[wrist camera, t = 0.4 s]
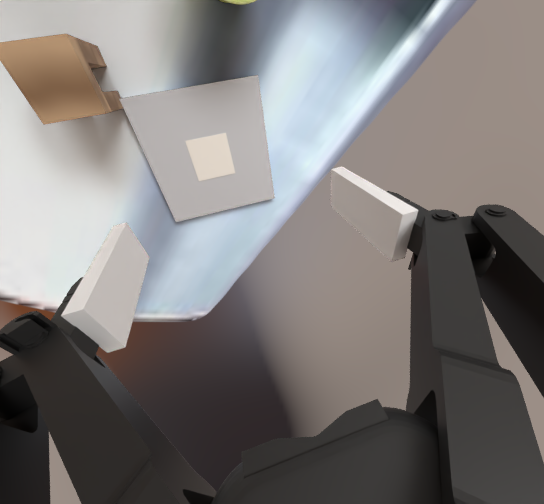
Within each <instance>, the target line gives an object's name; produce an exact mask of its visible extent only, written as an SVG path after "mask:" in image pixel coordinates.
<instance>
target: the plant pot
mask: <svg viewBox="0 0 544 504" xmlns="http://www.w3.org/2000/svg"><path fill="white" fill-rule="evenodd" d="M219 1H221V2H225V3H232V4H238V5H243V4H249V3H252V2H255V1H256V0H219Z"/></svg>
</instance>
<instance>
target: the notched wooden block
mask: <svg viewBox="0 0 544 504" xmlns="http://www.w3.org/2000/svg"><path fill="white" fill-rule="evenodd" d="M0 61H1V62H2V64H3V65H4V66H5V68H6V69H7V71H8V72H9V74H10V75H11V77H12V78H13V80H14V81H15V83H16V84H17V86H18V87H19V89H20V90H21V92H22V93H23V95H24V96H25V98H26V99H27V101H28V102H29V104H30V105H31V107H32V108H33V109H34V111H35V112H36V114H37V115H38V117H39V118H40V120H41V121H42V123H43V124H49V123H55V122H61V121H66V120H72V119H77V118H83V117H89V116H94V115H100V114H106V113H109V112H112V111H116V110H119V109H122V108H123V106H122V104H121V102H120V100H119V99H121V97H120V95H119V92H118V91H108V92H102V90H101V88H100V86H99V84H98V82H97V80H96V78H95V76H94V74H93V72H92V70H91V69H93V68H100V67H106V64H105V62H104V60H103V57H102V55H101V53H100V51H99V49H98V46H95V45H93V44H90V43H88V42H85V41H83V40H80V39H78V38H75V37H73V36H70V35H68V34H61V35H53V36H46V37H38V38H31V39H23V40H15V41H8V42H0Z"/></svg>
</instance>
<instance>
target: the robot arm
mask: <svg viewBox="0 0 544 504" xmlns="http://www.w3.org/2000/svg"><path fill="white" fill-rule="evenodd" d="M331 207H332V208H333V209H334V210H335V211H336V212H337V213H338V214H339V215H340V216H342V217H343V218H344V219H345V220H346V221H347V222H348V223H349V224H350V225H351V226H352V227H354V228H355V229H356V230H357V231H358V232H359V233H360V234H361V235H362V236H363V237H364V238H366V239H367V240H368V241H369V242H370V243H371V244H372V245H373V246H374V247H375V248H376V249H378V250H379V251H380V252H381V253H382V254H383V255H384V256H385V257H386V258H387V259H389V260H390V261H391V262H393V261H396V260H399V259H403V258H405V255H406V252H407V248H408V249H410V250H411V251H412V252H413V255H412V258H411V262H410V265H409V268H408V269H409V270H411V337H410V339H411V341H410V345H411V346H410V388H409V394H408V399H407V405H406V411H405V410H401V409H397V408H390V407H382V406H381V404H380V403H379V401H378V399H376V400H374V401H371V402H369V403H366V404H363V405H361V406H358V407H356V408H353V409H351V410H348V411H346V412H345V413H343V414H342V415H341V416H340V417H339V418H338V419H336V420H335V421H334V422H333V423H332V424H331V425H329V426H328V427H327V428H326V429H325V430H324V431H322V432H321V433H320V434H319V435H317V436H315V437H301V438H279V439H274V440H272V441H269V442H267V443H264V444H261V445H259V446H256V447H254V448H251V449H249V450H246V451H243V452H241V455H242V463H241V464H239V465H238V466H237V467H236V468H235V469H234V470H233V471H232V472H231V473H230V475H229V476H228V477H227V478H226V480H225V481H224V483H223V484H222V485H221V487H220V489H219V490H218V492H216V491H215V490H214V489H213V488H212V487H211V485H209V483H208V482H207V481H205V480H204V479H203V478H202V477H201V476H200V475H198V474H197V473H196V472H195V471H194V469H193V468H192V467H191V466H190V465H189V464H188V462H187V461H186V460H185V459H184V458H183V456H182V455H181V454H180V453H179V452H178V450H177V449H176V448H175V447H174V446H173V444H172V443H171V442H170V441H169V440H168V439H167V437H166V436H165V435H164V434H163V432H161V430H160V429H159V428H158V426H157V425H156V424H155V423H154V422H153V420H152V419H151V418H150V417H149V416H148V414H147V413H146V412H145V411H144V410H143V408H142V407H141V406H140V405H139V404H138V402H137V401H136V400H135V399H134V398H133V396H132V395H131V394H130V393H129V392H128V391H127V389H126V388H125V387H124V386H123V385H122V383H121V382H120V381H119V380H118V378H117V377H116V376H115V375H114V374H113V372H112V371H111V370H110V369H109V368H108V367H107V365H106V364H105V363H104V362H103V360H102V359H101V358H99V357H98V356H97V355H96V352H97V350H98V347H99V346H100V347H101V348H102V349H103V350H105V351H106V352H107V353H109V352H112V351H115V350H118V349H121V348H124V347H126V343H127V339H128V336H129V332H130V328H131V324H132V321H133V317H134V313H135V310H136V306H137V302H138V298H139V295H140V291H141V287H142V284H143V280H144V276H145V272H146V269H147V265H148V261H149V256H148V254H147V253H146V251H145V250H144V248H143V247H142V245H141V244H140V242H139V241H138V239H137V238H136V236H135V235H134V233H133V231H132V230H131V228H130V227H129V225H128V224H127V223H123V224H119V225H115V226H113V227H112V229H111V231H110V232H109V234H108V236H107V238H106V239H105V241H104V243H103V244H102V246H101V248H100V250H99V251H98V253H97V255H96V256H95V258H94V260H93V262H92V263H91V265H90V267H89V268H88V270H87V272H86V274H85V275H84V277H82V278H80V279H79V280H78V281H77V282H76V283H75V284H74V285H73V286H72V287H71V289H70V290H69V292H68V293H67V296H66V297H65V298H64V300H63V303H62V304H61V305H60V306H59V308H58V310H57V311H56V313H55V315H54V316H53V318H52V319H51V321H50V320H49V319H48V318H46V317H45V316H43V315H42V314H41V313H39V312H37V311H34V312H29V313H26V314H23V315H21V316H19V317H17V318H15V319H14V320H12V321H11V322H9V323H8V324H7V325H5V326H4V327H3V328H2V329H1V330H0V347H1V348H3V349H4V350H6V351H8V352H10V353H12V354H14V355H12V356H10V357H8V358H6V359H4V360H3V361H1V362H0V504H50V472H49V432H50V434H51V437H52V439H53V441H54V443H55V445H56V448H57V450H58V452H59V454H60V457H61V459H62V461H63V463H64V466H65V468H66V470H67V472H68V474H69V477H70V479H71V481H72V483H73V486H74V488H75V490H76V492H77V495H78V497H79V499H80V501H81V503H82V504H544V463H543V460H542V457H541V453H540V450H539V447H538V444H537V440H536V437H535V434H534V431H533V427H532V424H531V421H530V418H529V414H528V411H527V408H526V404H525V401H524V398H523V394H522V391H521V388H520V385H519V383H518V381H517V378H516V377H515V375H514V374H513V373H512V372H511V371H510V370H506V369H503V368H501V366H500V365H499V363H498V361H497V358H496V354H495V350H494V346H493V342H492V338H491V334H490V330H489V326H488V323H487V319H486V315H485V311H484V307H483V304H482V300H481V298H482V299H483V301H484V303H485V305H486V306H487V308H488V309H489V311H490V313H491V314H492V316H493V317H494V319H495V321H496V322H497V324H498V325H499V327H500V329H501V330H502V332H503V333H504V335H505V337H506V338H507V340H508V341H509V343H510V345H511V346H512V348H513V349H514V351H515V352H516V354H517V356H518V357H519V359H520V361H521V362H522V364H523V365H524V367H525V369H526V370H527V372H528V373H529V375H530V377H531V378H532V380H533V381H534V383H535V385H536V386H537V388H538V389H539V391H540V392H541V394H542V396H543V397H544V236H543V235H542V234H541V233H539V232H538V231H537V230H536V229H535V228H534V227H532V226H531V225H530V224H529V223H528V222H526V221H525V220H524V219H523V218H522V217H520V216H519V215H518V214H517V213H516V212H515V211H513V210H511V209H509V208H506V207H504V206H501V205H499V206H498V205H482V206H479V207H478V208H477V209H476V211H475V213H474V216H467V217H459V216H458V215H457V214H455V213H454V212H450V211H448V210H431V211H428V210H426V209H424V208H422V207H421V206H419V205H417V204H415V203H413V202H410V200H408V199H406V198H404V197H402V196H401V195H399V194H397V193H393V192H389V191H387V192H386V191H384V190H382V189H381V188H379V187H377V186H375V185H374V184H372V183H370V182H368V181H367V180H365V179H363V178H361V177H359V176H358V175H356V174H354V173H352V172H351V171H349V170H347V169H345V168H344V167H338V168H334V169H331ZM495 251H496V255H495V254H494V253H495Z"/></svg>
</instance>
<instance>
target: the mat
mask: <svg viewBox="0 0 544 504" xmlns="http://www.w3.org/2000/svg"><path fill="white" fill-rule="evenodd" d="M119 100H120V102H121V104H122V106H123V108H124V110H125V113H126V115H127V117H128V119H129V121H130V123H131V126H132V128H133V130H134V132H135V134H136V136H137V139H138V141H139V143H140V145H141V147H142V149H143V152H144V154H145V156H146V158H147V160H148V162H149V165H150V167H151V169H152V171H153V173H154V175H155V178H156V180H157V182H158V184H159V186H160V188H161V191H162V193H163V195H164V197H165V199H166V201H167V204H168V206H169V208H170V210H171V212H172V214H173V217H174V219H175V221H176V222H179V221H183V220H187V219H191V218H195V217H199V216H203V215H208V214H212V213H216V212H220V211H224V210H228V209H232V208H236V207H240V206H244V205H249V204H253V203H257V202H261V201H265V200H269V199H273V198H275V197H274V189H273V182H272V175H271V167H270V160H269V153H268V145H267V138H266V130H265V123H264V116H263V108H262V101H261V94H260V86H259V79H258V75H255V76H249V77H244V78H238V79H232V80H226V81H220V82H214V83H208V84H203V85H197V86H191V87H185V88H179V89H173V90H167V91H162V92H156V93H150V94H144V95H138V96H132V97H127V98H121V99H119Z"/></svg>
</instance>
